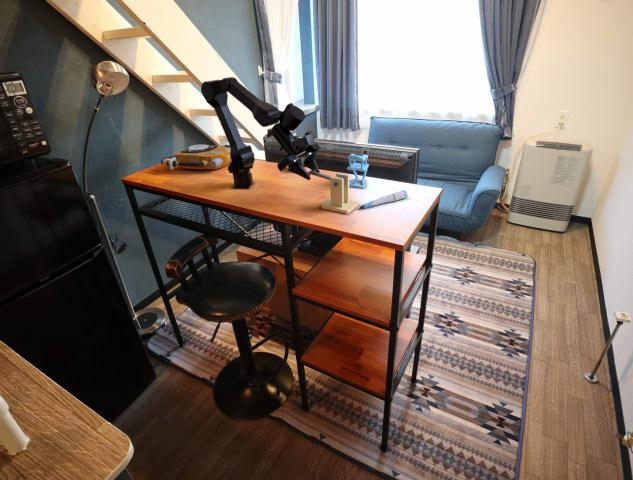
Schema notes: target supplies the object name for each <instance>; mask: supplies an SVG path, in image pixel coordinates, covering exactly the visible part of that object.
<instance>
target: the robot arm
mask: <svg viewBox="0 0 633 480" xmlns="http://www.w3.org/2000/svg"><path fill="white" fill-rule="evenodd" d="M200 92H201V94H202V97H203V98H204V100H205V101H206V103H207V104H208V105H209V106H210V107H212V108H213V109H214V112H215V114H216V116H217V119H218V121H219V123H220V125H221V128H222V131H223V133H224V134H225V135H224V136H225V137H226V140H227V142H228V145H230V147H231V150H230V157H231V161H232V162H230V163H229V164H228V166H227V170H228V171H227V172H228V173H229V174H232V179H233V185H232V188H233V189H250V187H251V186H252V185H253V184H254V179H253V173H252V172H251V170H252V169H253V168H254V163H255V161H256V158H255V156H256V154H255V153H254V152H253V148H252V146H251V145H250V144H248V145H247V144H245V143H244V141H243V139H242V136H241V134H240V131H239V129H238V127H237V124H236V122H235V119H234V116H233V115H232V112H231V109H230V108H229V105H228V101H229V100H228V98H229V95H228V94H230V95H231V96H232V97H233V98H235V100H237V101H238V102H239V103H240V104H242V105H243V106H244V107H245V108H246V109H248V110H249V111H250V112H251V114H252V117H253V119H254V120H255V121H256V122H257V124H258V125H259V126H261V127H262V128H267V127H270V128H268V129H267V130H266V131H267V133H266V138H267V139H270V138H272V137H273V138H274V140H275V141H276V142H277V143H278V145H279V146H280V148H279V151H280V152H284V153H285V154H286V155H284V156H283V157H282V158H281V159H280V160H279V162H278V163H277V164H276V165H277V167H276V168H277V169H278V170H279V172H280V173H282V172H285V171H287V172H290V173H293V174H294V175H297V176H298V177H301V178H303V179H305V180H307V181H310V180H311V175H310V176H309V174H308V171H307V170H306V168H305V167H307V168H308V169H309V170H310V171H311V170H313V169H315V168H316V169H317V172H318V173H321V171H320V169H319V165H318V162H317V159H316V154H317V152H318V151H319V150H320V149H321V146H320V145H319V144H318V143H317V142H316V137H317V135H316V134H315V133H314V132H313V131H312V130H308V131H306V132H304V136H302V137H300V136H299V135H298V134H297V135H294V134H293V132H294V131H296V130H297V128H299V127H300V125H301V124H302V123H303V121H304V120H305V119H306V114H305V112H304V110H303V109H301V108H300V107H298V106H297V105H294V103H293V102H290V103H287V105H286V106H285V108H284V109H283V110H280V109H279V108H278V107H277V106H275V105H273V104H272V103H269V102H266V101H263V100H261V99H260V98H258V96H256V95H255V94H254V93H252V92H251V91H250V90H249V89H248V88H247V87H245V86H244V85H243V84H242V83H240V82H239V81H238V79H237V78H236V77H234V76H228V77H223V78H222V79H214V80H213V79H212V80H205V81H203V82H202V83H201V87H200ZM271 126H272V127H271ZM302 158H303V159H304V162H303V163H304V165H305V166H304V165H302ZM287 167H288V168H287Z"/></svg>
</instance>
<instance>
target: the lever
mask: <svg viewBox="0 0 633 480" xmlns="http://www.w3.org/2000/svg"><path fill="white" fill-rule="evenodd" d="M307 173H308V174H309V176H310V177H311V176H315V177H318V178H322V179H324V180H328V181H330V177H332V176H331V175H328V174H325V173H321V172H320V173H318V172H317V169H316V168H315V169H313V170H311V169H310V170H309V171H307ZM337 178H343V177H340V176H337ZM343 179H344V185H345V179H346V178H343Z"/></svg>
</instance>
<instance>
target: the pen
mask: <svg viewBox="0 0 633 480" xmlns="http://www.w3.org/2000/svg"><path fill="white" fill-rule="evenodd" d="M408 197H409V195H408V190H406V189H405V190H400V191H396V192H393V193H390V194H388V195H385V196H381V197H380V198H377V199H373V200H370V201H368V202H365V203H364V204H362V205H360V206H359V207H358V208H359V209H366V208H371V207H375V206H379V205H382V204H385V203H393V202H397V201H400V200H403V199H406V198H408Z"/></svg>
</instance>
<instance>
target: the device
mask: <svg viewBox="0 0 633 480" xmlns="http://www.w3.org/2000/svg"><path fill="white" fill-rule="evenodd" d="M230 150H231V147H230V144H224V145H219V144H210V145H209V144H194V145H190V146H189V147H187V148H185V149H182V150H180V151H178V152H176V153H174V155H172V156H171V155H170V156H166V157H165V158H162V159H160V165H162V166H163V167H165V168H167V169H169V170H175V169H176V168H177V169H185V170H186V169H187V170H217V169H220V168H223V167H225V166H227V165H230V163H231V162H232V161H231V157H230Z"/></svg>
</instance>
